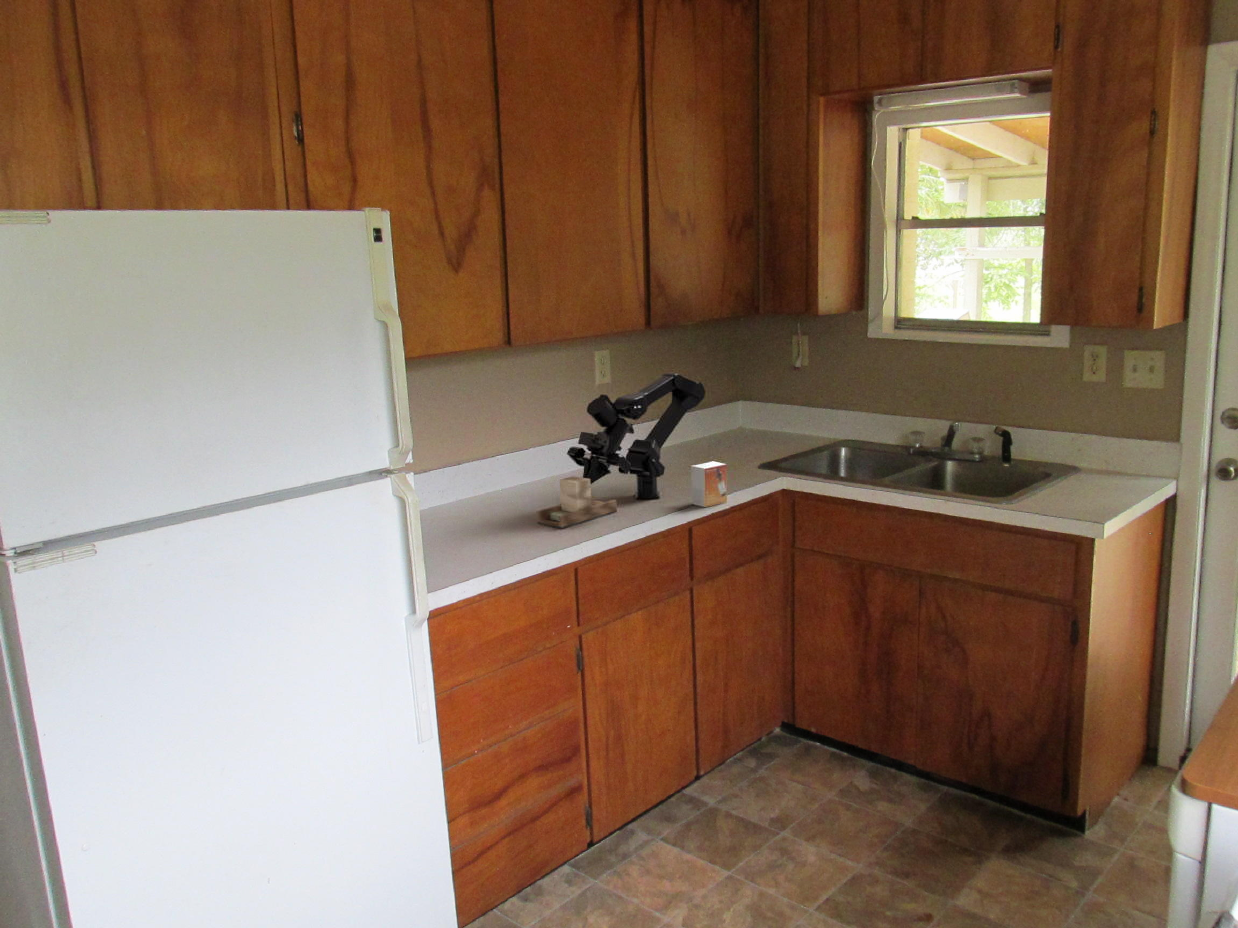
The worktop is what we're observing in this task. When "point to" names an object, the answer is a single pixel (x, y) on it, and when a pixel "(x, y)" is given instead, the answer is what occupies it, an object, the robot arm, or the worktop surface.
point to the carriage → (575, 493)
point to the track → (575, 514)
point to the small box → (709, 484)
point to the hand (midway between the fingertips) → (583, 486)
